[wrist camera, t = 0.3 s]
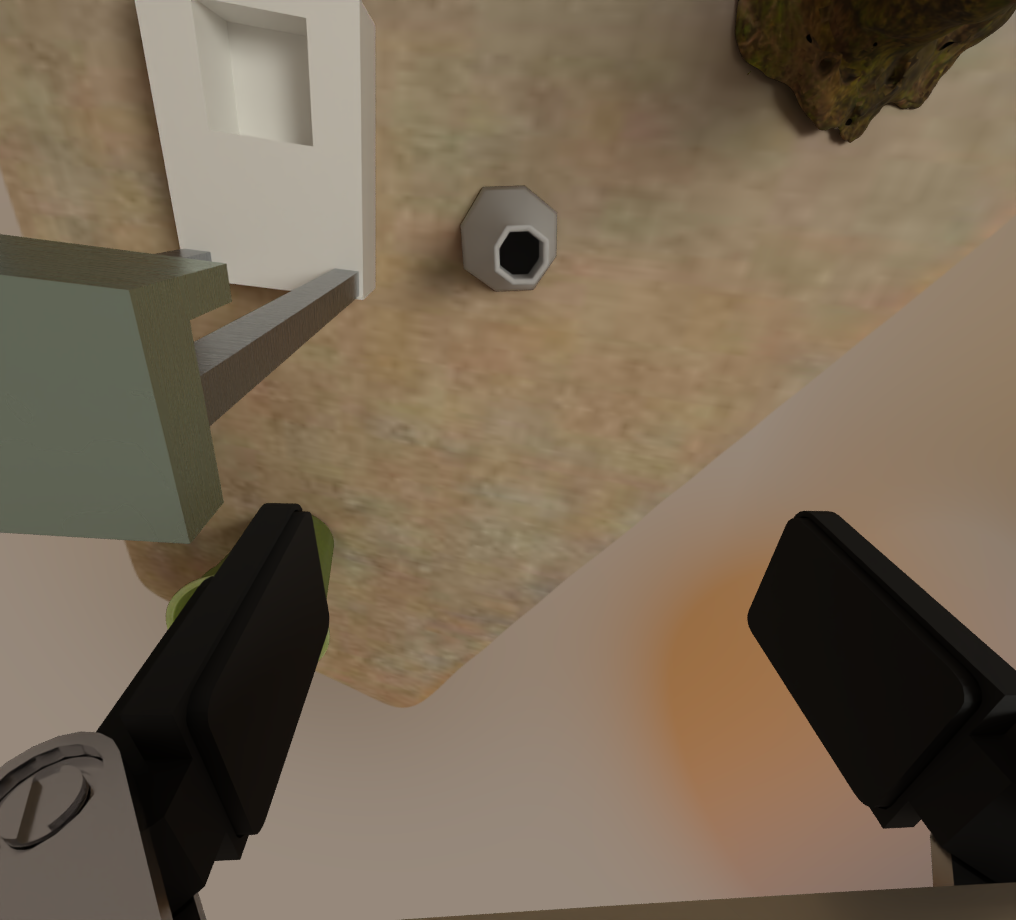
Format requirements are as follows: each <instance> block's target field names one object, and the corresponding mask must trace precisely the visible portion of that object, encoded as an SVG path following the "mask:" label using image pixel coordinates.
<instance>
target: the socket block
mask: <svg viewBox="0 0 1016 920" xmlns="http://www.w3.org/2000/svg"><path fill="white" fill-rule="evenodd" d="M135 5H136V10H137V16H138V21H139V27H140V32H141V38H142V43H143V48H144V54H145V59H146V65H147V70H148V76H149V81H150V87H151V92H152V98H153V103H154V108H155V114H156V119H157V125H158V130H159V136H160V141H161V147H162V152H163V157H164V163H165V168H166V174H167V179H168V185H169V190H170V196H171V201H172V206H173V212H174V217H175V223H176V228H177V234H178V239H179V245H180V249H192V250H199V251H207V252H210V253H211V260H212V262H219V263H226V264H227V271H228V278H229V283H231V284H239V285H247V286H256V287H264V288H272V289H280V290H288V291H292V290H294V289H296V288H298V287H300V286H302V285H304V284H306V283H308V282H310V281H312V280H313V279H315V278H317V277H319V276H321V275H323V274H325V273H327V272H329V271H331V270H333V269H335V268H336V269H344V270H352V271H359V296H358V297H357V298H356V299H360V300H364V299H365V298H366V297H367V296H368V295H369V294H370V293H371V292H372V291H373V290H374V289H375V24H374V22H373V20H372V19H371V17H370V15H369V13H368V12H367V10H366V8H365V6H364V5H363V3H362V1H361V0H135Z"/></svg>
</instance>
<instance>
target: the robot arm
mask: <svg viewBox="0 0 1016 920" xmlns="http://www.w3.org/2000/svg"><path fill="white" fill-rule="evenodd" d="M747 618H748V625H749V628H750V630H751V632H752V634H753V635H754V637H755V638H756V640H757V641H758V643H759V645H760V646H761V648H762V649H763V651H764V652H765V654H766V655H767V657H768V659H769V660H770V662H771V663H772V665H773V667H774V668H775V670H776V671H777V673H778V674H779V676H780V678H781V679H782V680H783V682H784V684H785V685H786V687H787V689H788V690H789V692H790V693H791V694H792V696H793V698H794V699H795V701H796V702H797V704H798V706H799V707H800V709H801V710H802V712H803V714H804V715H805V717H806V718H807V720H808V721H809V723H810V725H811V726H812V728H813V729H814V731H815V732H816V734H817V736H818V737H819V739H820V740H821V742H822V743H823V745H824V747H825V748H826V750H827V751H828V753H829V754H830V756H831V757H832V759H833V761H834V762H835V764H836V765H837V767H838V768H839V770H840V772H841V773H842V775H843V776H844V778H845V779H846V781H847V783H848V784H849V786H850V787H851V789H852V790H853V792H854V794H855V795H856V796H857V797H858V799H859V800H860V801H861V802H863V804H865V805H867V806H869V807H870V809H871V811H872V812H873V814H874V815H875V817H876V818H877V820H878V821H879V823H880V824H881V826H882V828H902V827H903V828H904V827H914V826H915V825H916V824H917V823H918V822H919V821H920V820H921V819H922V821H923V822H924V823H925V825H926V826H927V828H928V829H929V830H930V831H931V834H930V841H931V858H932V875H933V887H922V888H904V889H886V890H868V891H849V892H832V893H815V894H800V895H781V896H764V897H748V898H731V899H715V900H698V901H682V902H666V903H649V904H634V905H616V906H600V907H586V908H570V909H555V910H540V911H524V912H511V913H494V914H480V915H464V916H449V917H433V918H419V919H405V920H1016V670H1015V669H1013V668H1012V667H1011V666H1010V665H1009V664H1008V663H1007V662H1005V661H1004V660H1003V659H1002V658H1001V657H1000V656H999V655H997V654H996V653H995V652H994V651H993V650H992V649H990V647H988V646H987V645H986V644H985V643H984V642H982V641H981V640H980V639H979V638H978V637H977V636H976V635H975V634H973V633H972V632H971V631H970V630H969V629H968V628H967V627H966V626H964V625H963V624H962V623H961V622H960V621H959V620H958V619H956V618H955V617H954V616H953V615H952V614H951V613H950V612H948V611H947V610H946V609H945V608H944V607H943V606H941V605H940V604H939V603H938V602H937V601H936V600H935V599H934V598H932V597H931V596H930V595H929V594H928V593H926V591H924V590H923V589H922V588H921V587H920V586H919V585H918V584H916V583H915V582H914V581H913V580H912V579H911V578H910V577H908V576H907V575H906V574H905V573H904V572H903V571H902V570H900V569H899V568H898V567H897V566H896V565H895V564H894V563H892V562H891V561H890V560H889V559H888V558H887V557H886V556H884V555H883V554H882V553H881V552H880V551H879V550H878V549H876V548H875V547H874V546H873V545H872V544H871V543H870V542H868V541H867V540H866V539H865V538H864V537H863V536H862V535H860V534H859V533H858V532H857V531H856V530H855V529H853V527H851V526H850V525H849V524H848V523H847V522H845V520H843V519H842V518H841V517H840V516H839V515H837V514H836V513H834V512H829V511H802V512H799V513H798V514H796V515H795V517H794V518H792V519H791V520H789V521H788V523H787V524H786V526H785V529H784V531H783V533H782V536H781V538H780V540H779V542H778V545H777V547H776V549H775V552H774V554H773V556H772V558H771V561H770V563H769V566H768V568H767V570H766V572H765V575H764V577H763V579H762V582H761V584H760V586H759V589H758V591H757V593H756V595H755V598H754V600H753V602H752V605H751V607H750V609H749V612H748V617H747ZM328 628H329V611H328V605H327V599H326V594H325V588H324V582H323V576H322V570H321V565H320V559H319V553H318V547H317V541H316V536H315V530H314V524H313V518H312V515H311V513H310V512H302V508H301V506H300V505H299V504H288V503H266V504H264V505H263V506H262V507H261V508H260V509H259V511H258V512H257V514H256V515H255V517H254V518H253V520H252V521H251V523H250V524H249V525H248V527H247V528H246V530H245V531H244V533H243V534H242V536H241V537H240V539H239V540H238V542H237V543H236V545H235V546H234V547H233V549H232V550H231V552H230V553H229V555H228V556H227V558H226V559H225V561H224V562H223V564H222V565H221V567H220V568H219V569H218V571H217V572H216V574H215V575H214V576H210V577H208V578H206V579H205V580H204V581H203V582H202V583H201V584H200V585H199V586H198V588H197V589H196V591H195V592H194V593H193V595H192V596H191V598H190V599H189V600H188V602H187V603H186V605H185V606H184V608H183V609H182V610H181V612H180V613H179V615H178V616H177V618H176V619H175V620H174V622H173V623H172V625H171V626H170V628H169V629H168V630H167V632H166V633H165V635H164V636H163V638H162V639H161V640H160V642H159V643H158V645H157V646H156V647H155V649H154V650H153V652H152V653H151V655H150V656H149V657H148V659H147V660H146V662H145V663H144V664H143V666H142V668H141V669H140V670H139V672H138V673H137V674H136V676H135V677H134V679H133V680H132V682H131V683H130V685H129V686H128V687H127V689H126V690H125V692H124V693H123V694H122V696H121V697H120V699H119V700H118V701H117V703H116V704H115V706H114V707H113V709H112V710H111V711H110V713H109V714H108V716H107V717H106V719H105V720H104V721H103V723H102V724H101V726H100V727H99V728H98V730H97V731H96V732H77V733H71V734H67V735H62V736H58V737H55V738H53V739H51V740H48V741H45V742H43V743H41V744H38V745H36V746H33V747H31V748H30V749H28V750H26V751H25V752H23V753H21V754H20V755H18V756H16V757H15V758H13V759H11V760H10V761H8V762H7V763H5V764H4V765H3V766H2V767H0V920H206V917H205V913H204V910H203V907H202V904H201V900H200V897H199V894H198V892H199V891H200V890H201V889H202V888H203V887H204V886H205V884H206V882H207V879H208V877H209V874H210V871H211V869H212V866H213V864H214V861H222V860H240V859H241V856H242V853H243V850H244V847H245V844H246V841H247V839H248V836H249V835H255V834H258V833H259V832H260V830H261V828H262V826H263V824H264V822H265V819H266V817H267V813H268V810H269V808H270V804H271V802H272V799H273V796H274V793H275V790H276V787H277V784H278V781H279V778H280V774H281V771H282V768H283V765H284V762H285V759H286V756H287V753H288V750H289V747H290V744H291V741H292V738H293V735H294V732H295V729H296V726H297V723H298V720H299V717H300V714H301V711H302V708H303V705H304V702H305V699H306V696H307V693H308V690H309V687H310V684H311V681H312V678H313V675H314V672H315V669H316V666H317V663H318V660H319V657H320V654H321V651H322V648H323V645H324V642H325V639H326V636H327V633H328Z"/></svg>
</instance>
